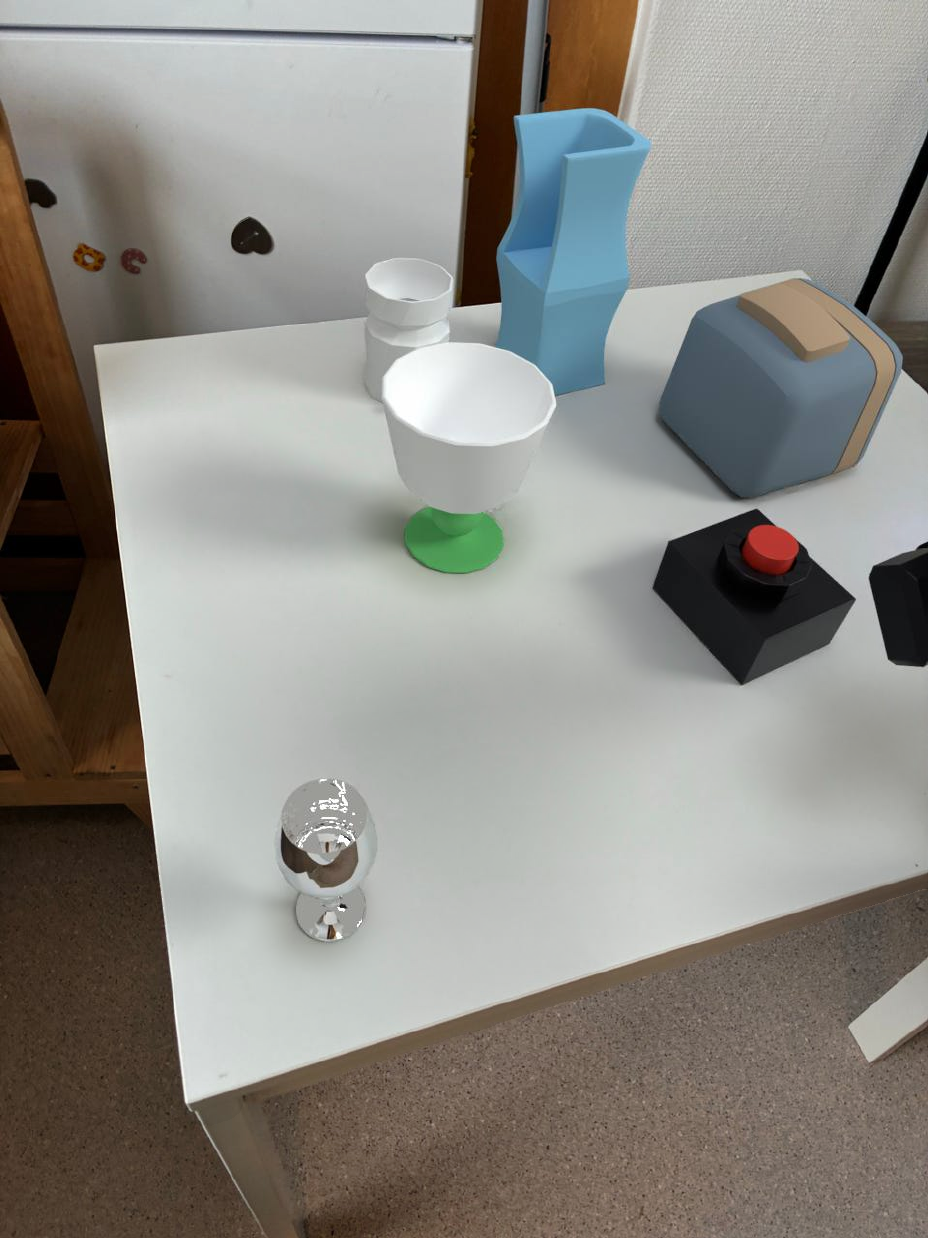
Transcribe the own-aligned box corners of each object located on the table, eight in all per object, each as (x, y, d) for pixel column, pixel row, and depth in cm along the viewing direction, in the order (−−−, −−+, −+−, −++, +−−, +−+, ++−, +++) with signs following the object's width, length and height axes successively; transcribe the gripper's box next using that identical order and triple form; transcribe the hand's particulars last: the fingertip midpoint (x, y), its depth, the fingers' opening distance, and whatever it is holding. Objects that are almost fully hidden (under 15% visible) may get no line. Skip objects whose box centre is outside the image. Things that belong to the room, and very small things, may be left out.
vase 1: (386, 416, 93) (388, 310, 84) (351, 371, 97) (349, 266, 88) (460, 397, 96) (470, 292, 87) (422, 354, 101) (428, 251, 92)
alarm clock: (864, 472, 93) (937, 334, 81) (739, 511, 87) (797, 369, 75) (764, 385, 102) (817, 250, 90) (646, 415, 97) (685, 274, 85)
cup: (365, 496, 84) (365, 346, 72) (505, 481, 87) (527, 335, 76) (395, 603, 76) (400, 453, 64) (548, 582, 79) (581, 435, 67)
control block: (829, 644, 77) (866, 583, 71) (741, 685, 73) (772, 625, 67) (737, 554, 83) (763, 491, 78) (651, 587, 79) (673, 525, 74)
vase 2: (485, 353, 102) (512, 115, 83) (559, 337, 105) (601, 105, 87) (528, 402, 96) (567, 158, 78) (605, 383, 100) (660, 146, 81)
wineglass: (302, 967, 55) (289, 880, 46) (273, 885, 59) (257, 790, 50) (389, 930, 57) (393, 841, 48) (357, 853, 61) (355, 756, 52)
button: (801, 565, 72) (809, 550, 71) (764, 581, 71) (772, 565, 70) (767, 534, 75) (774, 519, 73) (731, 549, 73) (737, 533, 72)
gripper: (1194, 379, 51) (947, 429, 65) (980, 465, 44) (756, 499, 58) (1227, 567, 53) (979, 575, 67) (1026, 678, 46) (797, 661, 60)
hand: (883, 574), depth 63 cm, fingers closed
